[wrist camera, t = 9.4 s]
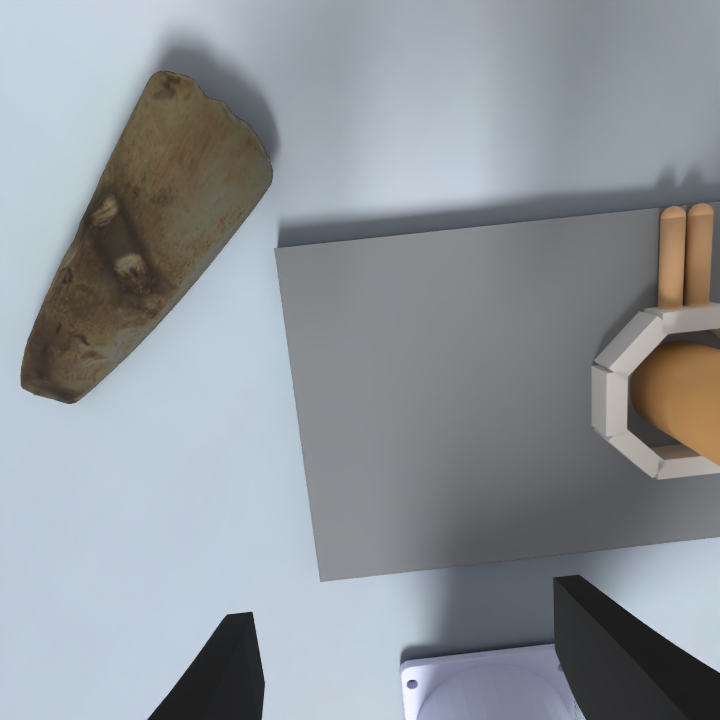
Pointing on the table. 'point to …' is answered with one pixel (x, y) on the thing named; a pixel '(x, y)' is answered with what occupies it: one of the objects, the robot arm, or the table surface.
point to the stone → (145, 234)
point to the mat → (497, 388)
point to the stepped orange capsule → (681, 394)
